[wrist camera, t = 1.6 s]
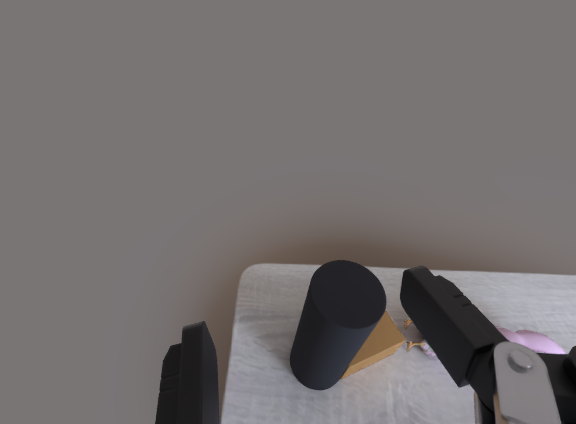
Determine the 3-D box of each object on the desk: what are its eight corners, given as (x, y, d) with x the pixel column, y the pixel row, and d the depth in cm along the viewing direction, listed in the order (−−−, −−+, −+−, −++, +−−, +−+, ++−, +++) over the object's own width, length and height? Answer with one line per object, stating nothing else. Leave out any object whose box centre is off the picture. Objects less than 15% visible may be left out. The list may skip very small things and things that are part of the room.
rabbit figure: (404, 372, 31) (573, 401, 28) (417, 348, 27) (617, 379, 24) (399, 316, 35) (545, 336, 32) (410, 287, 31) (578, 308, 28)
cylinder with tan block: (304, 400, 27) (334, 342, 18) (281, 345, 30) (297, 272, 21) (395, 355, 30) (458, 287, 21) (365, 310, 34) (410, 235, 25)
